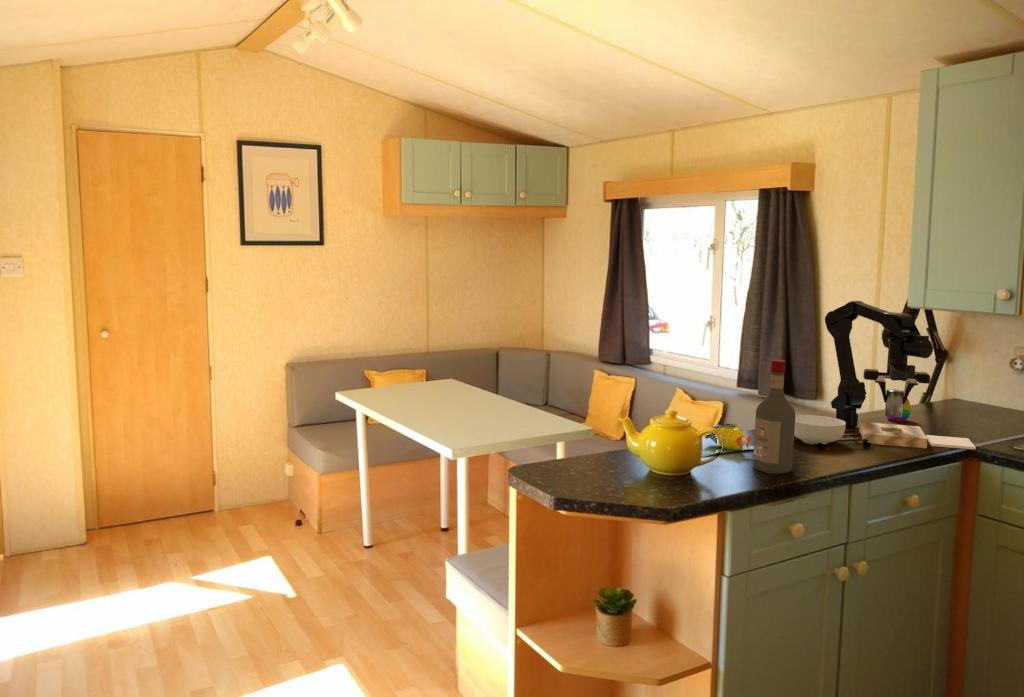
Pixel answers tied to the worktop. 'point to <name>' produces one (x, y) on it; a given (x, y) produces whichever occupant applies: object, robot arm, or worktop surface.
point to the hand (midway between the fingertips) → (894, 403)
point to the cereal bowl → (818, 429)
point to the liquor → (774, 427)
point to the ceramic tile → (950, 442)
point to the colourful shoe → (729, 439)
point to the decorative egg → (903, 413)
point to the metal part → (894, 403)
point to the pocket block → (893, 434)
